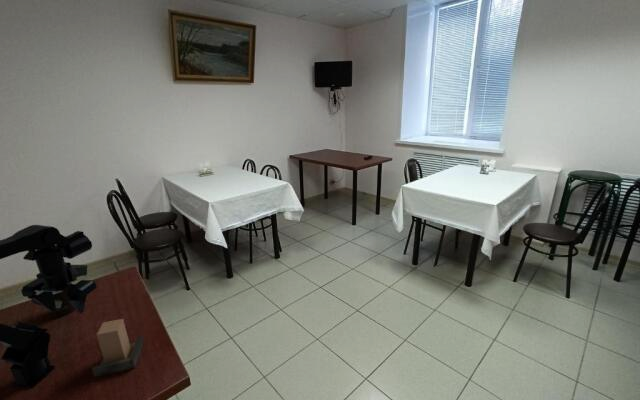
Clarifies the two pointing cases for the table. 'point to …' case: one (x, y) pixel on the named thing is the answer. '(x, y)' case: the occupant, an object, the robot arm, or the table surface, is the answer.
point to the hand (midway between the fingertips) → (67, 312)
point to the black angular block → (61, 304)
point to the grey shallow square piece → (120, 361)
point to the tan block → (113, 341)
